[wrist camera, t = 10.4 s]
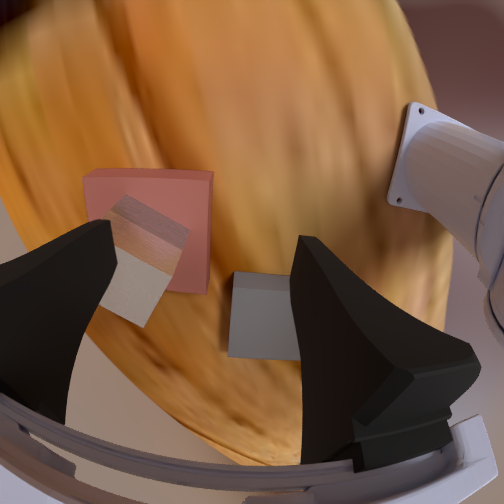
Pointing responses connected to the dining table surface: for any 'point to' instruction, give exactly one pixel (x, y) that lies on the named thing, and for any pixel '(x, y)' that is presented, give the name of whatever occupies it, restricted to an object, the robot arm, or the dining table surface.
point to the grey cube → (141, 258)
